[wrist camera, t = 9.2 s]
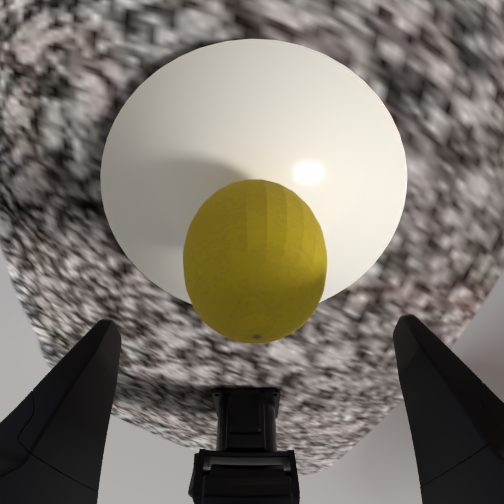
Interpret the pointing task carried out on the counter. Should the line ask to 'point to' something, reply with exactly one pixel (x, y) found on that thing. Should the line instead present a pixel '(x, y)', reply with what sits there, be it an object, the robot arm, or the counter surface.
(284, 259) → the lemon
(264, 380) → the counter surface
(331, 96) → the plate
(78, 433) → the robot arm
